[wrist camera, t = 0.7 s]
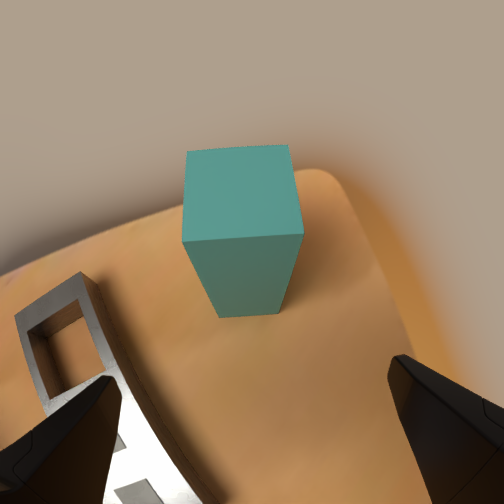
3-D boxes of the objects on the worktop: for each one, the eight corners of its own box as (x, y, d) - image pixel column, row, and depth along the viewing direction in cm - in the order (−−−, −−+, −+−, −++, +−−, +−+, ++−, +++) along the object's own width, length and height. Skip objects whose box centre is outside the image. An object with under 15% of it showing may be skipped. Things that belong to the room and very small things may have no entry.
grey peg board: (221, 506, 17) (216, 521, 14) (140, 533, 15) (127, 548, 12) (96, 283, 24) (79, 270, 21) (33, 323, 22) (13, 315, 19)
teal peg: (278, 313, 23) (304, 233, 11) (219, 317, 23) (181, 241, 11) (272, 259, 25) (287, 144, 13) (217, 263, 25) (186, 151, 13)
